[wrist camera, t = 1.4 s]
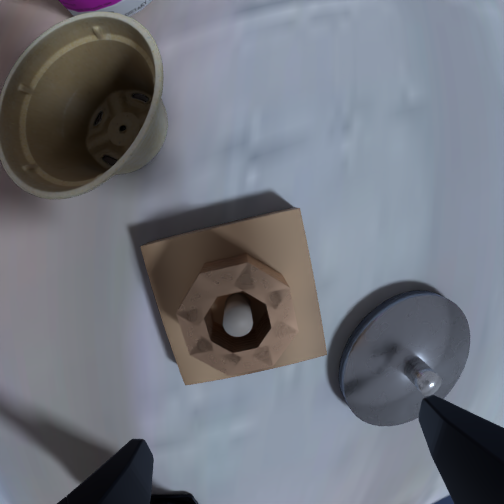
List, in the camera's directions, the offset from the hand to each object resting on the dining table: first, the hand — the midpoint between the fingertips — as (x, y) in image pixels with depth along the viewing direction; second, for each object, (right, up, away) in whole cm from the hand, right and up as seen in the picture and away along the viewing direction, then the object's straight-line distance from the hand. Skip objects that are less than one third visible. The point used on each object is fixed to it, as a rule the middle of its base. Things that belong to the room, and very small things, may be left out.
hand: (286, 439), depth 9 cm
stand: (-2, +3, +13) cm, 14 cm away
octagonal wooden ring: (-2, +2, +12) cm, 12 cm away
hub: (+12, -3, +15) cm, 19 cm away
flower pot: (-10, +14, +12) cm, 21 cm away
